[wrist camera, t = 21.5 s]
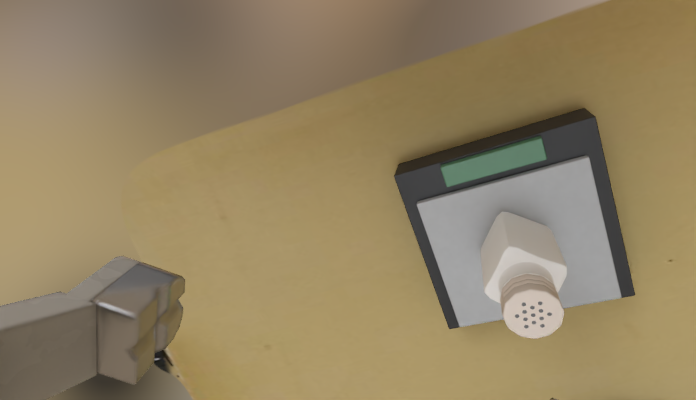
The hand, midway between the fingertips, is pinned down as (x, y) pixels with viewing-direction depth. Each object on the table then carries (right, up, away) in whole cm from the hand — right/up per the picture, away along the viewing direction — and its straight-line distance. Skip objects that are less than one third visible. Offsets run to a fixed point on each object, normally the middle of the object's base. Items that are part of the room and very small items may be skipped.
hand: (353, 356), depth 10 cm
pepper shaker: (+12, +1, +25) cm, 27 cm away
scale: (+13, +2, +28) cm, 31 cm away
